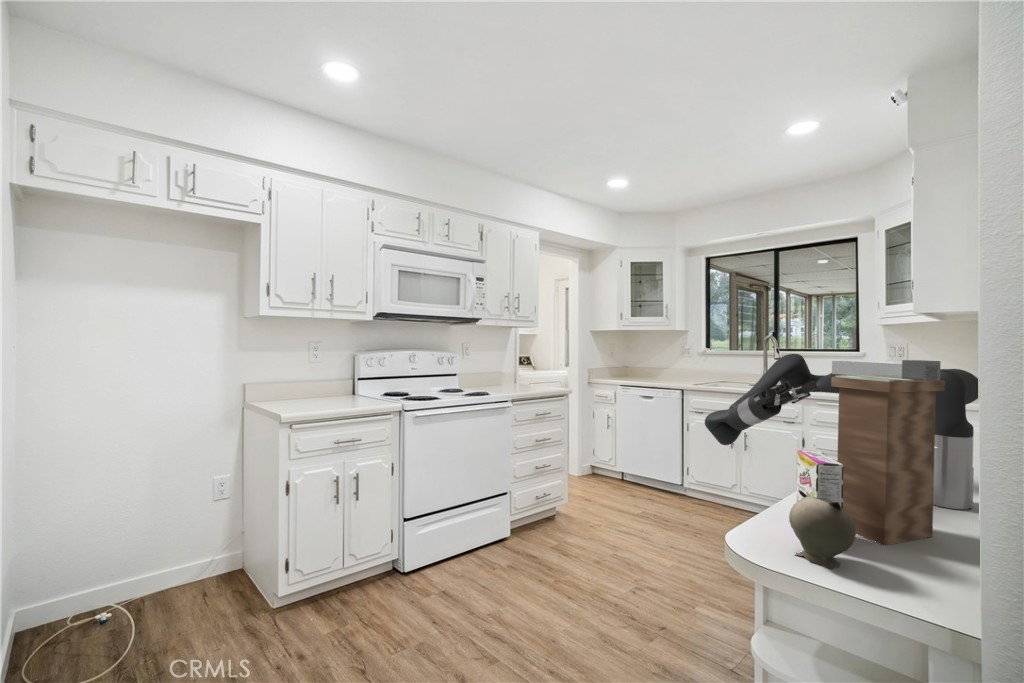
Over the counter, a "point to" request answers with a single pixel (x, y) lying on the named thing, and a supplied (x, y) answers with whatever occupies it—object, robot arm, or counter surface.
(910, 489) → the stand
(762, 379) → the robot arm
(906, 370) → the brushed steel block
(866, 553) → the counter surface
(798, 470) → the candy bar box
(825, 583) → the counter surface
